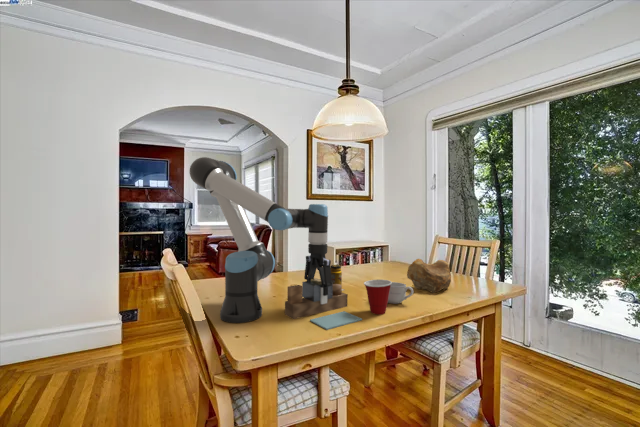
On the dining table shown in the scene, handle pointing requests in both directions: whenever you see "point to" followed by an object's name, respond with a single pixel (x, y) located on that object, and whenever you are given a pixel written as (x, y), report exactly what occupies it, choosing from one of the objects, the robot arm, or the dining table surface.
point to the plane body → (305, 307)
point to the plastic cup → (378, 295)
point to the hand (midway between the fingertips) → (317, 300)
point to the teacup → (398, 292)
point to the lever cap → (315, 290)
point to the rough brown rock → (429, 275)
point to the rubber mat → (335, 320)
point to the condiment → (336, 274)
